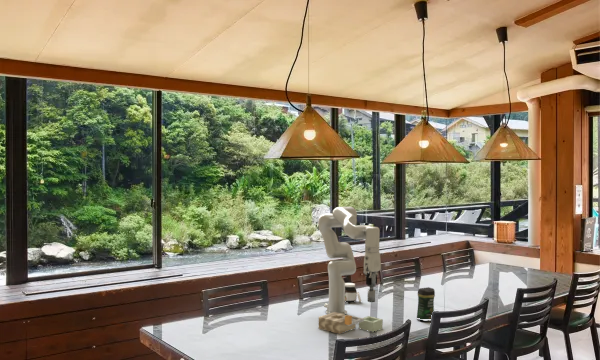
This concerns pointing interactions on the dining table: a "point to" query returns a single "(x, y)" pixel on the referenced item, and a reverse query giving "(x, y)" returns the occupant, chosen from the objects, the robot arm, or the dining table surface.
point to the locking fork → (352, 320)
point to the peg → (372, 292)
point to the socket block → (334, 323)
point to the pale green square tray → (371, 324)
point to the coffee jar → (425, 303)
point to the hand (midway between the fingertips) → (371, 283)
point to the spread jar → (351, 293)
